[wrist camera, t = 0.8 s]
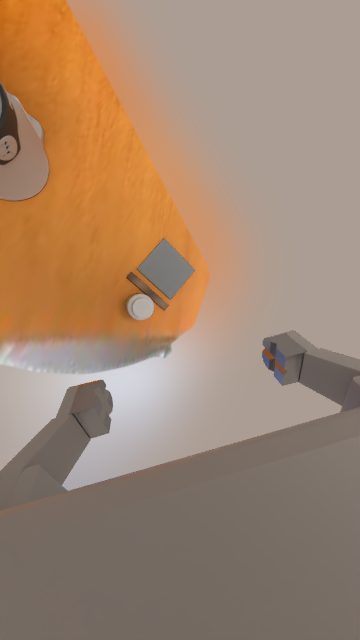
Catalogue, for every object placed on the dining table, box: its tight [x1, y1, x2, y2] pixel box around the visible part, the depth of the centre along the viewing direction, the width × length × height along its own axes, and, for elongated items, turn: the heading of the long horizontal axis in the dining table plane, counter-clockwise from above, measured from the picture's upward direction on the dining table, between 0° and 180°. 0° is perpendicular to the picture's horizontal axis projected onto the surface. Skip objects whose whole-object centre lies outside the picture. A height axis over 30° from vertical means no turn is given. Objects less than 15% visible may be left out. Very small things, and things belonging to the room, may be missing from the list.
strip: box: [127, 272, 169, 310], centre depth 49 cm, size 12×2×1 cm, turn 49°
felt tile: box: [137, 238, 195, 299], centre depth 50 cm, size 11×10×1 cm
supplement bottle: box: [126, 294, 154, 320], centre depth 44 cm, size 6×6×10 cm
